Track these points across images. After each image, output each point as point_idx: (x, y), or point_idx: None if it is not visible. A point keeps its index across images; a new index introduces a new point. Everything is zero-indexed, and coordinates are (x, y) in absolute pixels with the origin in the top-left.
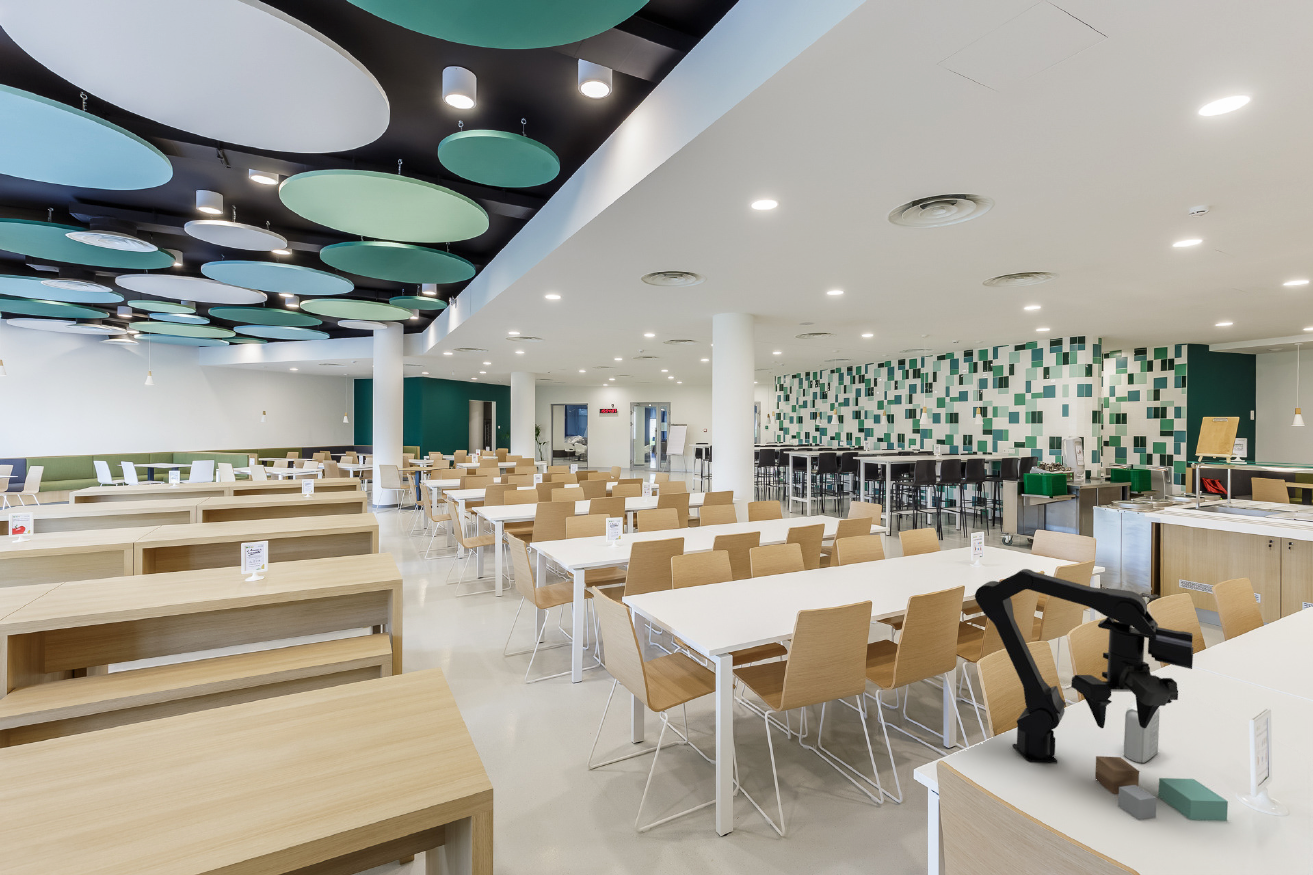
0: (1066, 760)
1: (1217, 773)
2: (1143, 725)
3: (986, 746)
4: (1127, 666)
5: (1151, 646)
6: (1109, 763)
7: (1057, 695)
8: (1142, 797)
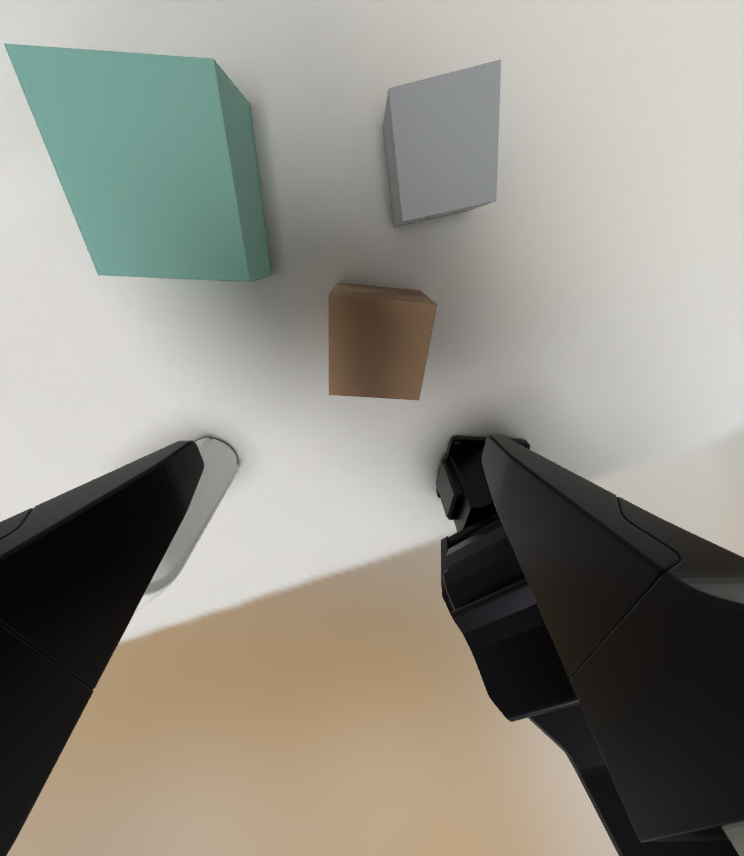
0: (415, 446)
1: (2, 395)
2: (188, 454)
3: None
4: None
5: None
6: (409, 353)
7: (520, 659)
8: (464, 90)
